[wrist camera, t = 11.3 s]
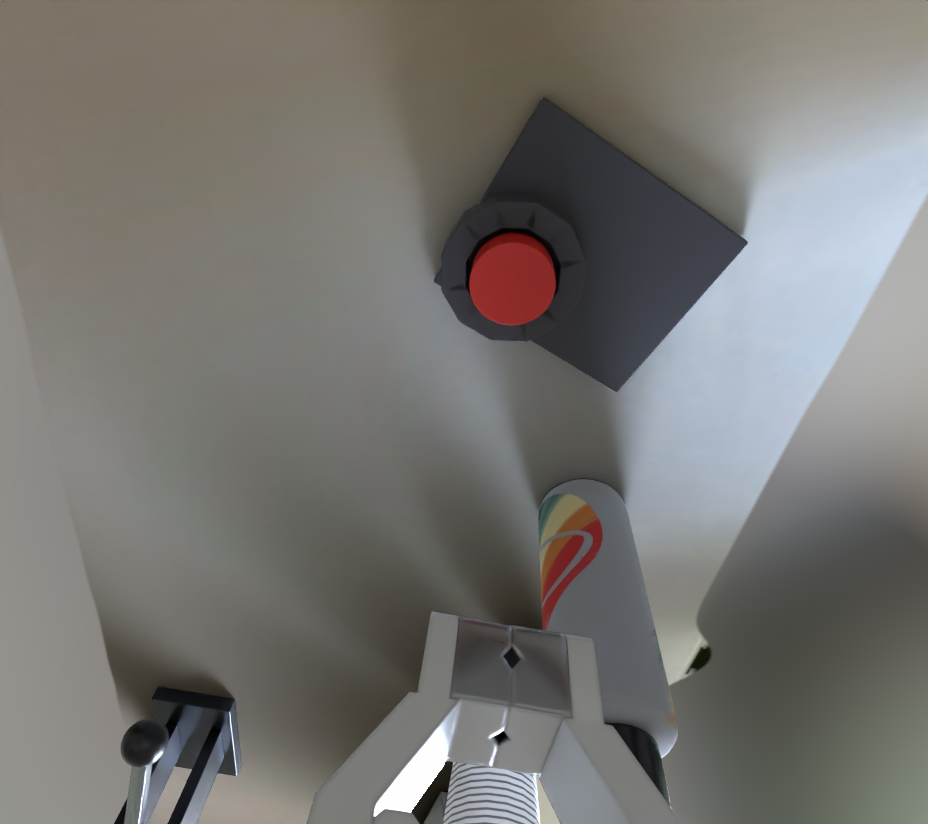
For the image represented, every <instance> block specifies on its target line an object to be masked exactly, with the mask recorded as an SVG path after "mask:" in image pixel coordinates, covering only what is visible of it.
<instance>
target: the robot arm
mask: <svg viewBox="0 0 928 824" xmlns="http://www.w3.org/2000/svg"><path fill="white" fill-rule="evenodd" d="M445 761H450V762H457V763H465V764H472V765H479V766H487V767H493V768H498V769H504V770H509V771H514V772H519V773H524V774H529V775H534V776H539V777H540V778H539V780H540V782H541V784H542V786H543V788H544V790H545V792H546V794H547V797H548V799H549V801H550V803H551V805H552V807H553V809H554V811H555V813H556V815H557V817H558V819H559V821H560V823H561V824H682V823H681V822H680V820H679V819H678V817H677V816H676V814H675V813H674V812H673V810H672V809H671V807H670V806H669V804H668V803H667V802H666V800H665V799H664V797H663V796H662V795H661V793H660V792H659V790H658V789H657V788H656V786H655V785H654V783H653V782H652V780H651V779H650V778H649V776H648V775H647V773H646V772H645V771H644V769H643V768H642V766H641V765H640V764H639V762H638V761H637V759H636V758H635V756H634V755H633V754H632V752H631V751H630V749H629V748H628V747H627V745H626V744H625V742H624V741H623V740H622V738H621V737H620V735H619V734H618V732H617V731H616V730H615V728H614V727H613V726H611V725H606V724H604V716H603V708H602V700H601V692H600V684H599V676H598V668H597V660H596V652H595V644H594V642H593V640H592V638H586V637H580V636H574V635H568V634H563V633H560V632H553V631H546V630H540V629H533V628H527V627H520V626H513V625H511V626H507V625H502V624H497V623H492V622H487V621H481V620H476V619H471V618H466V617H461V616H459V618H458V616H455V615H449V614H444V613H438V612H432V613H431V617H430V622H429V627H428V633H427V639H426V645H425V651H424V657H423V663H422V668H421V674H420V680H419V686H418V692H417V693H413V692H409V693H408V694H407V696H406V697H405V698H404V699H403V700H402V701H401V702H400V703H399V704H398V705H397V706H396V707H395V708H394V709H393V711H392V712H391V713H390V714H389V715H388V716H387V717H386V718H385V719H384V720H383V721H382V722H381V723H380V724H379V726H378V727H377V728H376V729H375V730H374V731H373V732H372V733H371V734H370V735H369V736H368V737H367V738H366V739H365V741H364V742H363V743H362V744H361V745H360V746H359V747H358V748H357V749H356V750H355V751H354V752H353V753H352V754H351V756H350V757H349V758H348V759H347V760H346V761H345V762H344V763H343V764H342V765H341V766H340V767H339V768H338V769H337V771H336V772H335V773H334V774H333V775H332V776H331V777H330V778H329V779H328V780H327V781H326V782H325V783H324V784H323V786H322V787H321V788H320V789H319V790H318V791H317V792H316V793H315V796H314V799H313V803H312V806H311V810H310V813H309V817H308V820H307V824H420V823H419V822H418V821H417V819H416V818H415V817H414V815H413V814H412V813H411V811H412V809H413V808H414V806H415V805H416V804H417V802H418V801H419V799H420V798H421V796H422V795H423V794H424V792H425V791H426V789H427V788H428V787H429V785H430V784H431V782H432V781H433V780H434V778H435V777H436V775H437V774H438V773H439V771H440V770H441V768H442V767H443V766H444V764H445Z"/></svg>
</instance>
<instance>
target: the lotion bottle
mask: <svg viewBox="0 0 928 824" xmlns="http://www.w3.org/2000/svg"><path fill="white" fill-rule="evenodd" d="M539 548H540V571H541V595H542V618H543V630H546V631H553V632H560V633H563V634H568V635H574V636H580V637H586V638H592V640H593V642H594V644H595V652H596V660H597V668H598V676H599V684H600V692H601V700H602V708H603V716H604V724H606V725H611V726H613V727H614V728H615V730H616V731H617V732H618V734H619V735H620V737H621V738H622V740H623V741H624V742H625V744H626V745H627V747H628V748H629V749H630V751H631V752H632V754H633V755H634V756H635V758H636V759H637V761H638V762H639V764H640V765H641V766H642V768H643V769H644V771H645V772H646V773H647V775H648V776H649V778H650V779H651V780H652V782H653V783H654V785H655V786H656V788H657V789H658V790H659V792H660V793H661V795H662V796H663V797H664V799H665V800H666V802H667V803H668V804H669V806H670V807H671V803H670V798H669V794H668V789H667V784H666V780H665V774H664V770H663V765H662V760H661V758H662V757H664V756H665V755H666V754H667V753H668V752H669V751H670V750H671V749H672V747H673V745H674V743H675V741H676V738H677V723H676V719H675V713H674V709H673V704H672V700H671V695H670V691H669V687H668V682H667V678H666V674H665V669H664V665H663V661H662V657H661V652H660V648H659V644H658V640H657V635H656V631H655V627H654V623H653V618H652V614H651V610H650V606H649V601H648V597H647V593H646V589H645V584H644V580H643V576H642V572H641V567H640V563H639V559H638V555H637V550H636V546H635V542H634V538H633V533H632V529H631V525H630V521H629V517H628V513H627V510H626V507H625V504H624V502H623V500H622V498H621V497H620V495H619V494H618V493H617V492H616V491H615V490H614V489H613V488H611V487H610V486H608V485H606V484H604V483H601V482H598V481H594V480H586V479H580V480H573V481H569V482H565V483H563V484H561V485H559V486H557V487H555V488H554V489H552V490H551V491H550V492H549V493H548V494H547V495H546V496H545V498H544V499H543V501H542V503H541V506H540V510H539ZM671 809H672V808H671Z"/></svg>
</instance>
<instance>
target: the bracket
mask: <svg viewBox="0 0 928 824" xmlns="http://www.w3.org/2000/svg"><path fill="white" fill-rule="evenodd" d="M151 700H152V705H153V709H154V714H155V718H156V719H157V720H159V721H161V722H162V723H163V724H164V725H165V726H166V727H167V729H168V732H169V743H168V746H167V749H166V751H165V752H164V754H163V755H162V756H161V758H160V759H159V760H157V761H156V762H155V763H153V764H152V770H151V777H150V784H149V791H148V799H147V806H146V813H145V820H144V824H147V823H148V820H149V818H150V816H151V814H152V812H153V810H154V808H155V806H156V804H157V802H158V800H159V798H160V795H161V793H162V791H163V789H164V787H165V785H166V783H167V781H168V779H169V777H170V775H171V772H172V770H173V768H174V766H176V767H182V768H189V769H192V771H191V773H190V776H189V778H188V780H187V782H186V784H185V787H184V789H183V791H182V793H181V796H180V798H179V800H178V802H177V804H176V807H175V809H174V811H173V813H172V815H171V818H170V820H169V822H168V824H196V823H197V821H198V818H199V816H200V814H201V811H202V809H203V806H204V804H205V802H206V799H207V797H208V794H209V792H210V790H211V787H212V785H213V782H214V780H215V778H216V775H217V773H220V774H226V775H233V776H237V774H238V772H239V769H240V767H241V755H240V746H239V736H238V726H237V716H236V706H235V699H229V698H223V697H217V696H210V695H204V694H198V693H192V692H185V691H179V690H173V689H167V688H160V687H158V688H157V690H156V691H155V693H154V695H153V697H152V699H151ZM126 806H127V800H126V802H125V804H124V806H123V807H122V810H121V811H120V813H119V815H118V817H117V819H116V821H115V823H114V824H124V820H125V813H126Z"/></svg>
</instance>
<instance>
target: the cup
mask: <svg viewBox="0 0 928 824" xmlns="http://www.w3.org/2000/svg"><path fill="white" fill-rule="evenodd" d="M443 824H540V815H539V805H538V796H537V786H536V776H534V775H529V774H524V773H519V772H514V771H509V770H504V769H498V768H493V767H487V766H479V765H472V764H465V763H457V762H453V767H452V773H451V778H450V784H449V790H448V796H447V802H446V808H445V813H444V819H443Z"/></svg>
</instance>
